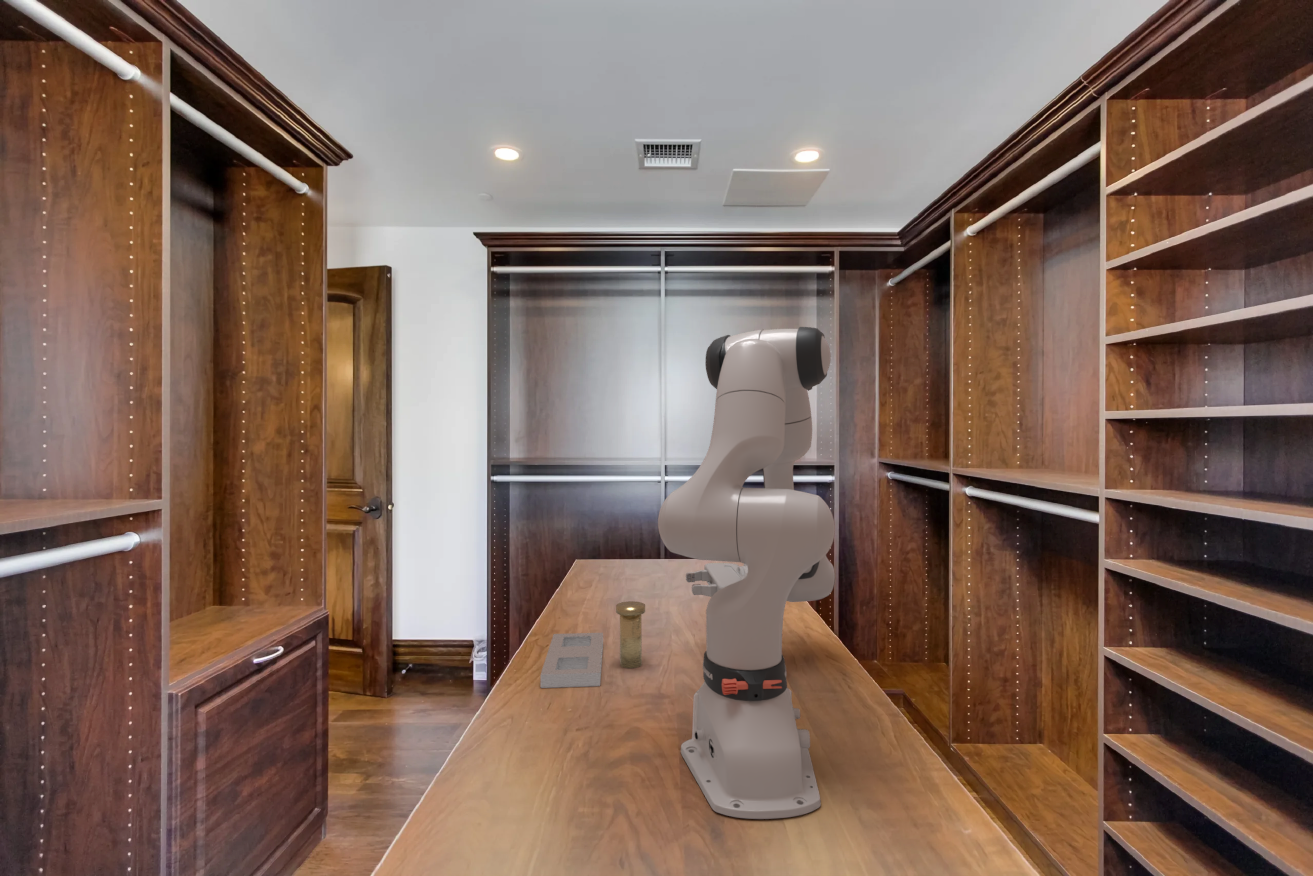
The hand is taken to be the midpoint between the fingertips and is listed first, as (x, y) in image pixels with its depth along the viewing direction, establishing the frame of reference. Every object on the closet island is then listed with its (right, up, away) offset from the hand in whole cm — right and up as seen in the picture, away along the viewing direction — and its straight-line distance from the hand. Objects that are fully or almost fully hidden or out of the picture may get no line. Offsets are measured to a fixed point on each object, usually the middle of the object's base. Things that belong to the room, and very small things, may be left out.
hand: (688, 583), depth 119 cm
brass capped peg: (-12, -16, -1) cm, 20 cm away
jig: (-24, -16, -1) cm, 29 cm away
